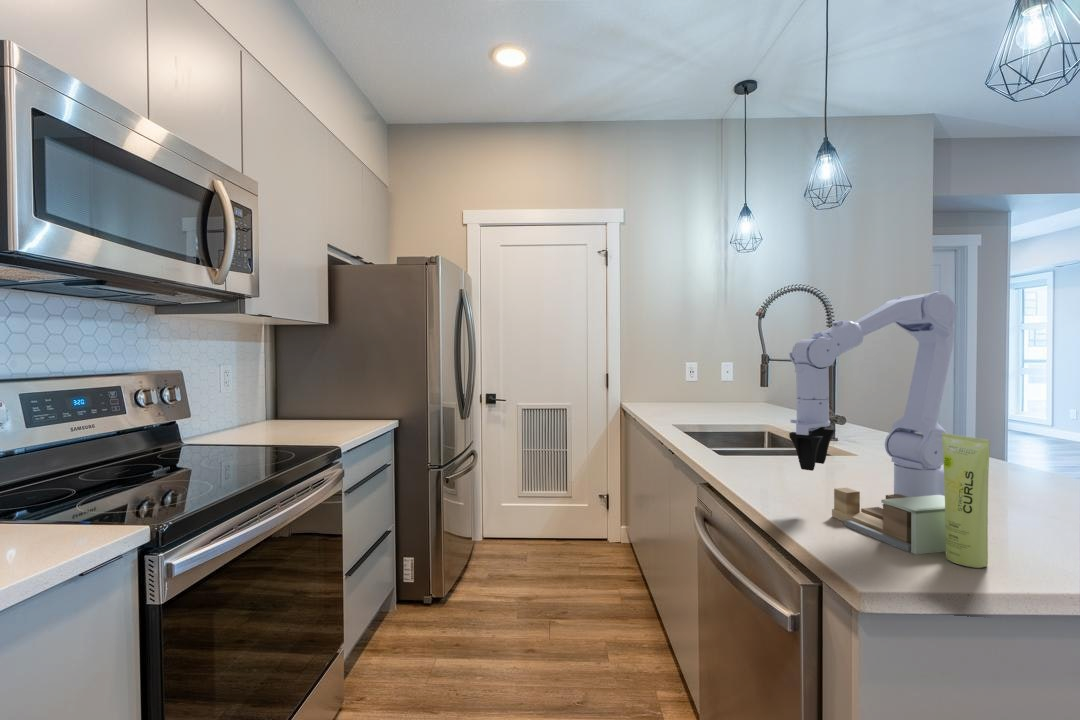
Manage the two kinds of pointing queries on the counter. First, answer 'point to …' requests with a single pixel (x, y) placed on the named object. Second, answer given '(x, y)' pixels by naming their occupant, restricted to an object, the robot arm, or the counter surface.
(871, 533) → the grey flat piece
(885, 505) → the cube
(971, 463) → the tube
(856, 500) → the tan stepped wooden piece
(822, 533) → the counter surface
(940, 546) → the shelter
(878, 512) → the block brown
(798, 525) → the counter surface
